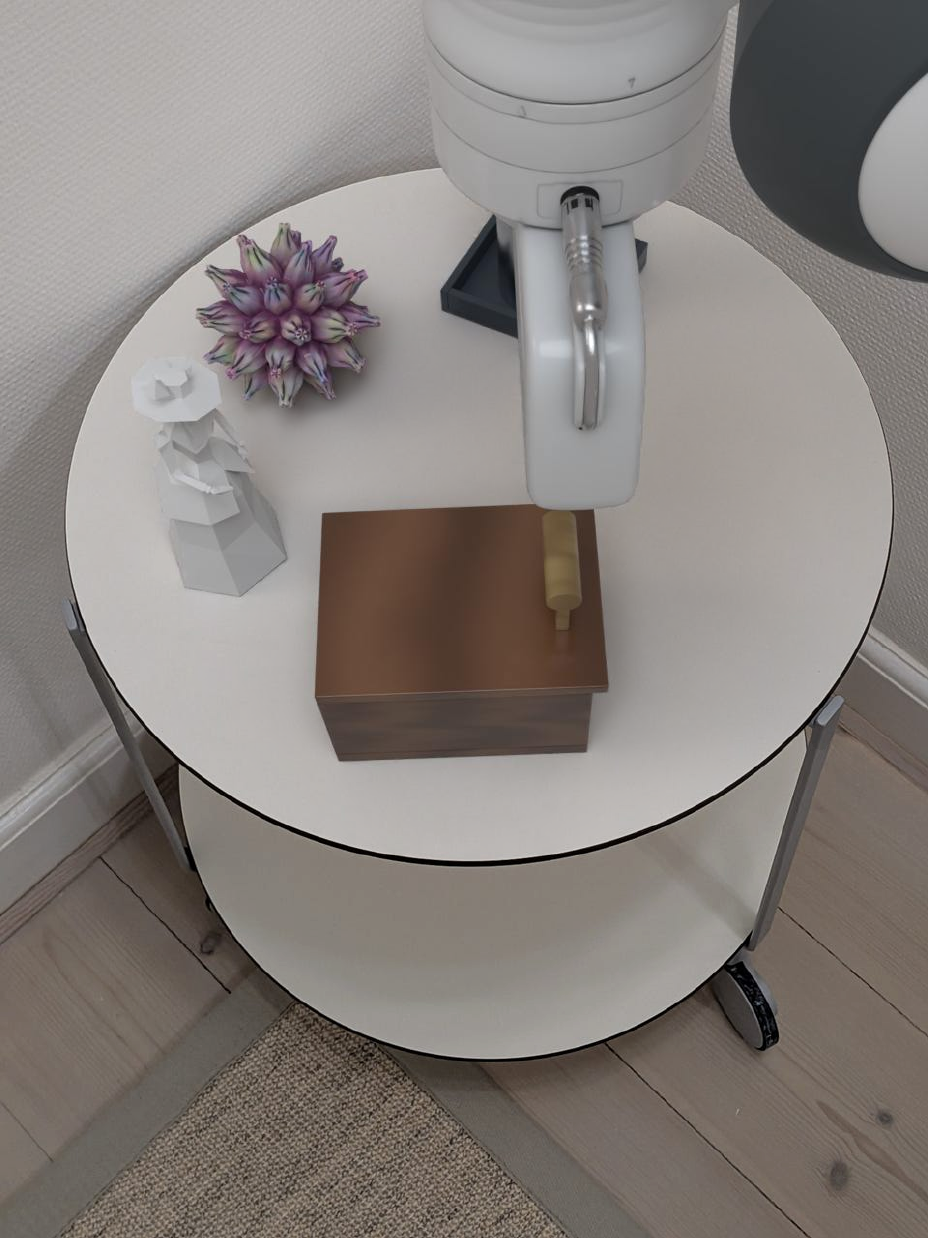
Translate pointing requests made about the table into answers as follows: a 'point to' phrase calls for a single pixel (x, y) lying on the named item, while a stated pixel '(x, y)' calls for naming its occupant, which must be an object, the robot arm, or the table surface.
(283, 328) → the flower
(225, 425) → the figurine
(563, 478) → the robot arm
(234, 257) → the table surface
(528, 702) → the chest
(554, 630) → the lid
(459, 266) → the tray
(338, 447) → the table surface
